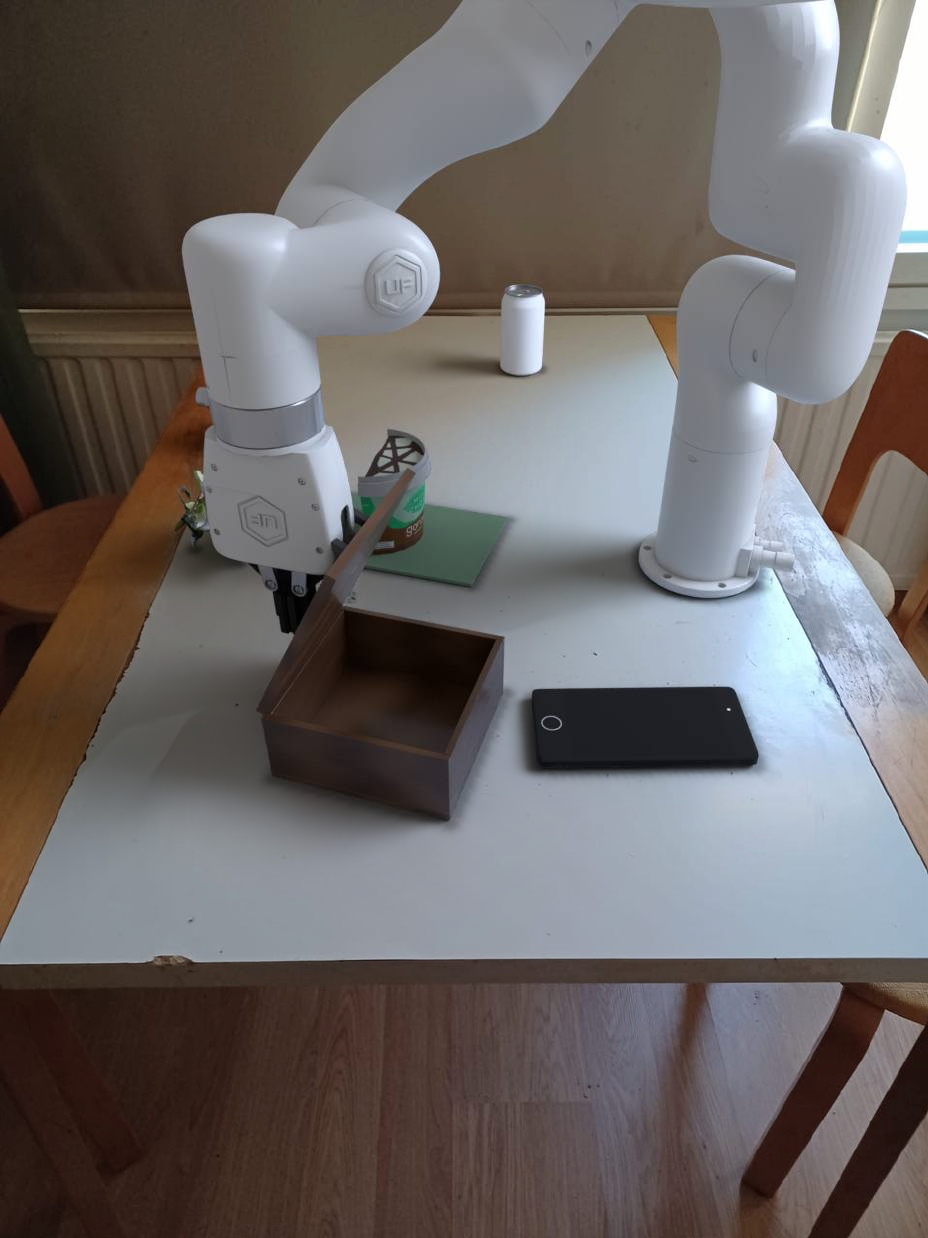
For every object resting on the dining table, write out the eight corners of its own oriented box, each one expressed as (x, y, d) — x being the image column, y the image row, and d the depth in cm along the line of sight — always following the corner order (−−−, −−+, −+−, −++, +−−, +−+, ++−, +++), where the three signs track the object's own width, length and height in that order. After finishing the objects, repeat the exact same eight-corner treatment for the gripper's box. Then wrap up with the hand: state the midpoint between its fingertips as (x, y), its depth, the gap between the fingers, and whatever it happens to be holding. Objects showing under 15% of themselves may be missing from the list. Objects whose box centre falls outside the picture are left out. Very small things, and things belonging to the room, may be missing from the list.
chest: (503, 693, 81) (504, 636, 77) (449, 820, 70) (448, 761, 66) (347, 661, 85) (340, 604, 81) (272, 777, 73) (260, 717, 69)
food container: (419, 567, 97) (415, 484, 90) (363, 561, 98) (356, 479, 91) (444, 509, 106) (442, 430, 100) (393, 504, 107) (388, 426, 101)
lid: (416, 472, 70) (357, 435, 70) (336, 580, 59) (265, 537, 58) (344, 603, 81) (293, 571, 80) (264, 716, 69) (204, 680, 69)
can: (494, 363, 142) (495, 285, 135) (533, 358, 144) (536, 281, 136) (508, 379, 137) (510, 299, 130) (548, 373, 139) (552, 294, 132)
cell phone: (530, 696, 81) (531, 688, 80) (732, 693, 81) (734, 685, 80) (538, 769, 74) (538, 761, 73) (759, 766, 74) (761, 758, 73)
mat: (507, 520, 105) (507, 517, 105) (471, 587, 94) (471, 584, 94) (348, 494, 110) (347, 491, 110) (297, 555, 99) (296, 552, 99)
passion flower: (267, 593, 103) (261, 555, 92) (168, 579, 102) (151, 539, 90) (281, 502, 106) (278, 455, 95) (187, 488, 105) (172, 439, 94)
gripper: (142, 421, 61) (193, 634, 72) (346, 452, 57) (366, 672, 68) (201, 378, 67) (239, 583, 78) (390, 404, 63) (402, 614, 74)
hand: (299, 624), depth 73 cm, fingers closed
